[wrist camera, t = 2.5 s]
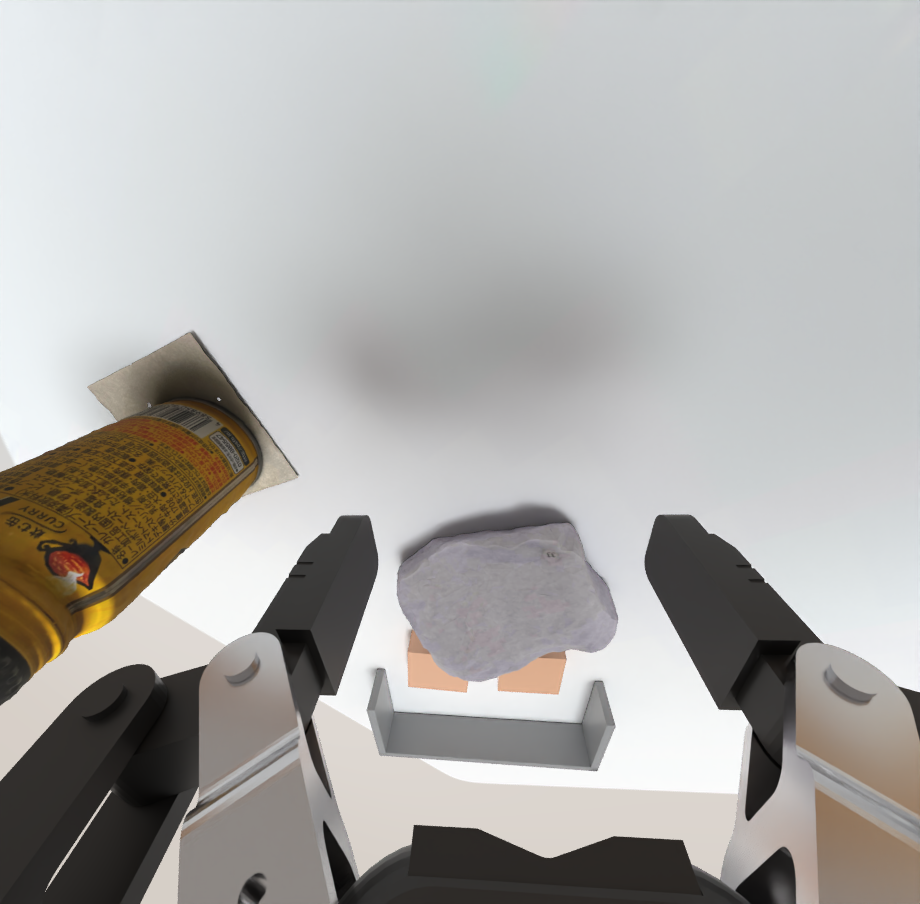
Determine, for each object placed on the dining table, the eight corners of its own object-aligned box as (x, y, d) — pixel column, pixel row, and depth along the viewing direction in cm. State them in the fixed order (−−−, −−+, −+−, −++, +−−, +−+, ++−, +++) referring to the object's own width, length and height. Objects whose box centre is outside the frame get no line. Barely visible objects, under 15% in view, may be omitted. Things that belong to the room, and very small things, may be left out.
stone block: (393, 537, 24) (458, 644, 26) (368, 583, 19) (449, 708, 22) (556, 471, 21) (613, 598, 23) (570, 506, 17) (640, 659, 19)
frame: (377, 668, 28) (366, 710, 26) (602, 681, 27) (615, 726, 25) (388, 715, 32) (379, 755, 29) (587, 728, 31) (597, 771, 28)
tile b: (499, 628, 26) (500, 655, 24) (560, 631, 25) (566, 659, 24) (497, 663, 28) (497, 690, 26) (553, 666, 27) (558, 694, 26)
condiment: (204, 509, 21) (-67, 748, 11) (90, 385, 18) (-483, 564, 7) (300, 475, 20) (89, 719, 9) (195, 330, 16) (-354, 460, 6)
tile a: (412, 625, 26) (407, 652, 24) (471, 631, 26) (471, 658, 24) (413, 660, 28) (408, 686, 26) (467, 665, 28) (466, 692, 26)
